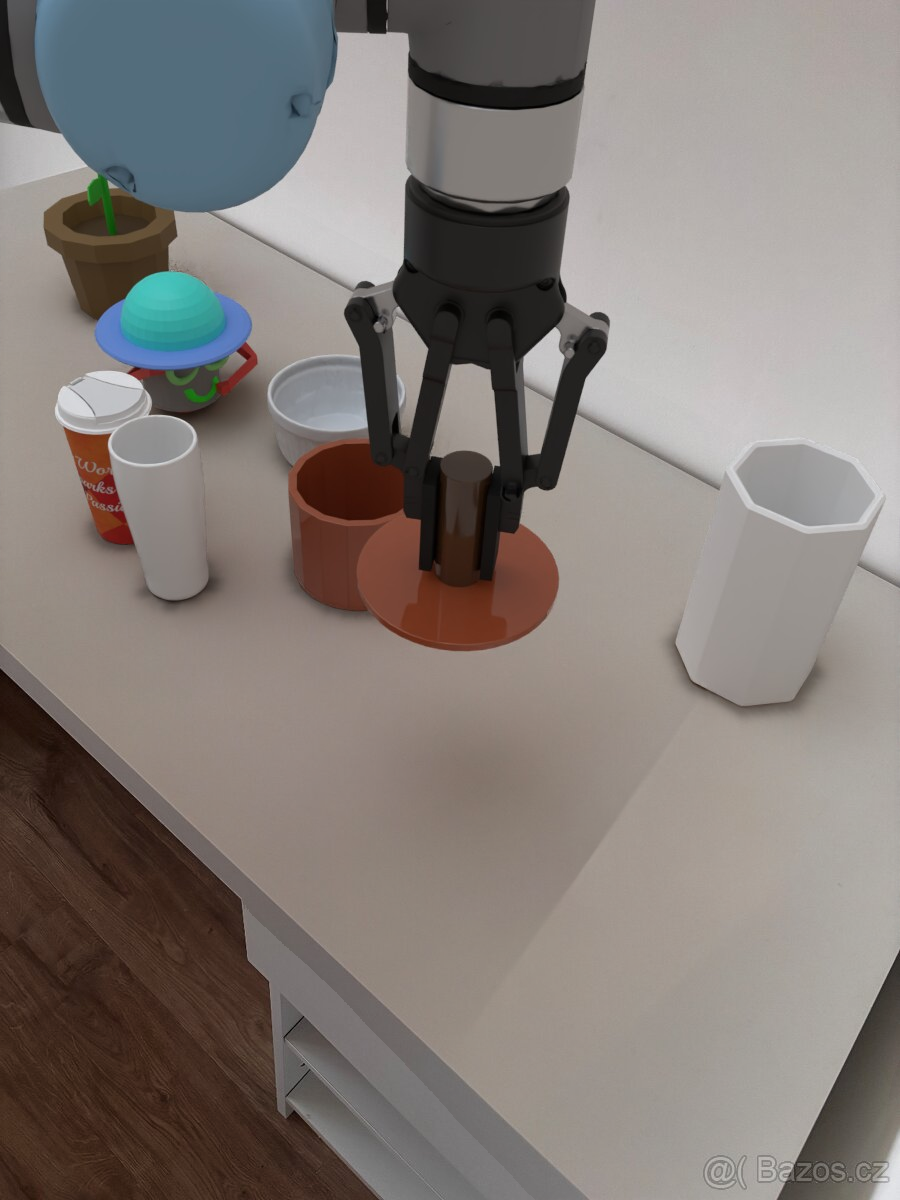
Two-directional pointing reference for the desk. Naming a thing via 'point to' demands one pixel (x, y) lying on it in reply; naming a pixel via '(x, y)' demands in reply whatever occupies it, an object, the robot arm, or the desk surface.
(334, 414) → the ramekin
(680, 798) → the desk surface
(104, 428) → the paper cup
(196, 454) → the white plastic tumbler
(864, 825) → the desk surface
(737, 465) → the cup
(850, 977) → the desk surface
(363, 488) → the jar
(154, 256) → the flowerpot
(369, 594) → the lid
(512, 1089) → the desk surface
